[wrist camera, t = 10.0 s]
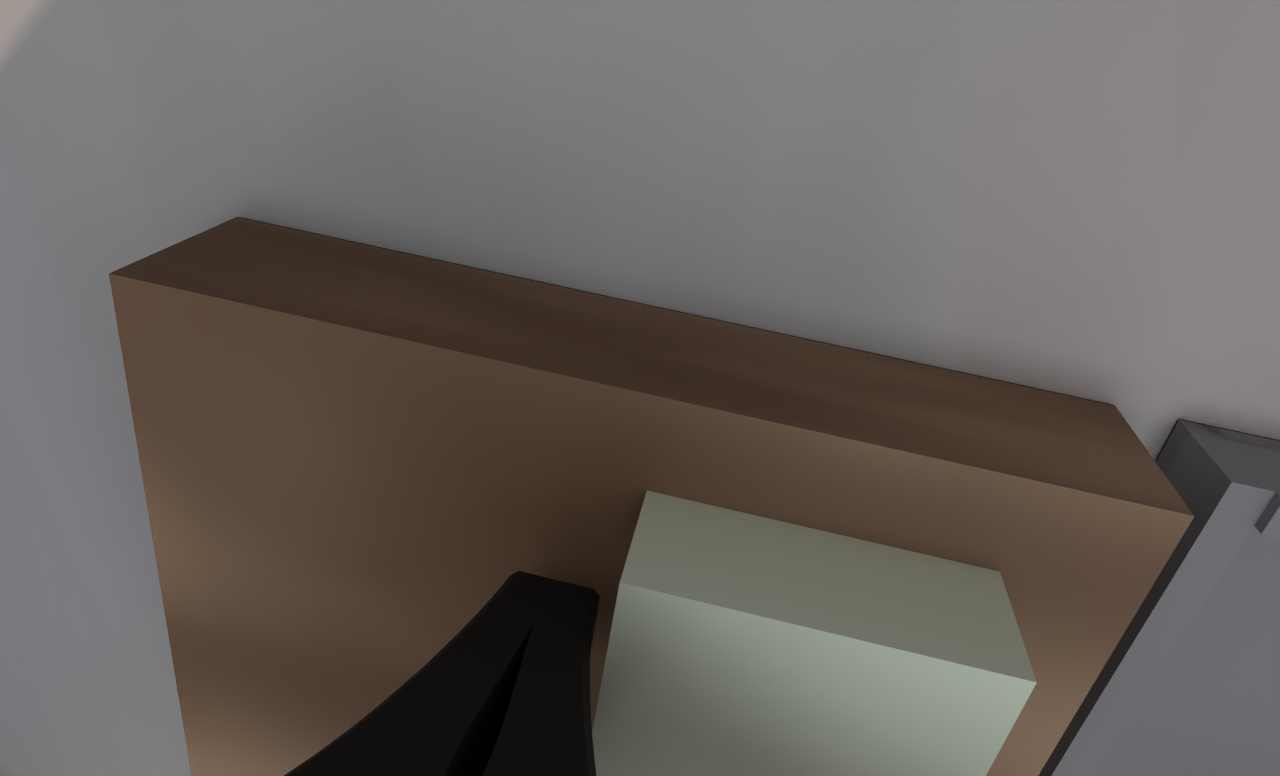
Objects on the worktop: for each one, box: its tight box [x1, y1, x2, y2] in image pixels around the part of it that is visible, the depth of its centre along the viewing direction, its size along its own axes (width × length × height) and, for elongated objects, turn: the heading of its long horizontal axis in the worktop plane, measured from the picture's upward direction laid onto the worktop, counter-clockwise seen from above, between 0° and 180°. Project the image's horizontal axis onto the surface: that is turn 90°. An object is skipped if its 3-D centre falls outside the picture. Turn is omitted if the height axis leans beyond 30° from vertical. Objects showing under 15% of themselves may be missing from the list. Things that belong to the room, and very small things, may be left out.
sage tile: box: [592, 490, 1037, 776], centre depth 12 cm, size 5×5×2 cm
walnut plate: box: [109, 217, 1194, 776], centre depth 16 cm, size 16×15×3 cm
